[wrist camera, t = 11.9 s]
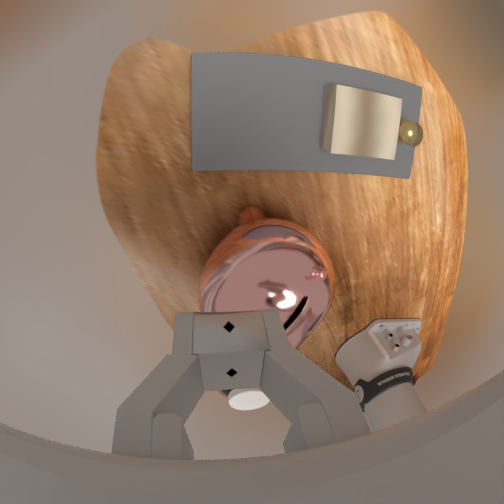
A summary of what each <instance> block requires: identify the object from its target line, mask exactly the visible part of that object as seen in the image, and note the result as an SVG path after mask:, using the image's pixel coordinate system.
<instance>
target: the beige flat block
mask: <svg viewBox="0 0 504 504" xmlns="http://www.w3.org/2000/svg"><path fill="white" fill-rule="evenodd" d="M401 107H402V99H400V98H396V97H392V96H389V95H385V94H381V93H376V92H372V91H368V90H363V89H358V88H353V87H348V86H342V85H326V96H325V110H324V123H323V134H322V145H321V148H322V149H324V150H326V151H328V152H329V153H333V154H345V155H356V156H365V157H374V158H382V159H390V160H394V159H395V153H396V147H397V140H398V133H399V125H400V117H401Z"/></svg>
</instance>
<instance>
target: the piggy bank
mask: <svg viewBox="0 0 504 504" xmlns="http://www.w3.org/2000/svg"><path fill="white" fill-rule="evenodd" d="M334 292H335V273H334V268H333V264H332V261H331V259H330V256H329V254H328V252H327V251H326V249H325V247H324V246H323V244H322V243H321V242H320V240H319V239H318V238H317V237H316V236H315V235H314V234H313V233H311V232H310V231H309V230H307V229H306V228H304V227H302V226H300V225H298V224H296V223H294V222H291V221H287V220H283V219H276V218H266V217H265V216H264V214H263V213H262V212H261V210H260V209H258V208H257V207H254V206H248V207H246V208H245V209H243V210H242V212H241V213H240V216H239V226H237V227H236V228H235V229H233V230H232V231H231V232H230V233H229V234H227V235H226V236H225V237H224V238H223V239H222V241H221V242H220V243H219V244H218V245H217V247H216V248H215V249H214V251H213V252H212V253H211V255H210V257H209V258H208V260H207V262H206V264H205V266H204V268H203V271H202V273H201V277H200V280H199V286H198V303H199V308H200V311H201V312H232V311H250V310H263V309H278V310H279V313H280V316H281V320H282V323H283V326H284V329H285V333H286V336H287V339H288V343H289V346H290V349H297V348H298V347H299V346H300V345H301V344H302V343H303V342H304V340H305V339H306V338H307V337H308V336H309V335H310V334H311V333H312V332H313V331H314V330H315V328H316V327H317V326H318V325H319V324H320V322H321V321H322V320H323V318H324V317H325V315H326V314H327V312H328V310H329V308H330V306H331V303H332V300H333V297H334Z"/></svg>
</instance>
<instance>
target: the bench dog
mask: <svg viewBox="0 0 504 504" xmlns="http://www.w3.org/2000/svg"><path fill="white" fill-rule="evenodd" d="M422 138H423V130H422V128H421V126H420V125H419V124H418V123H416V122H413V121H409V120H406V119H402V118H400V125H399V133H398V140H397V141H399V142H401V143H404V144H407V145H409V146H412V147H415V146H417V145H419V144H420V142H421V141H422Z"/></svg>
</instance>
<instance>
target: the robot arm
mask: <svg viewBox="0 0 504 504" xmlns="http://www.w3.org/2000/svg"><path fill="white" fill-rule="evenodd" d="M420 329H421V321H420V319H378V320H375V321H373V322H372V323H371V324H370V325H369V326H368V327H367V328H366V329H364V330H363V331H361V332H360V333H358V334H356V335H355V336H353V337H352V338H350V339H349V340H348V341H347V342H346V343H345V344H344V345H343V346H342V347H341V348H340V349H339V351H338V352H337V354H336V357H335V362H336V364H337V366H338V367H339V368H340V369H341V370H342V371H343V372H344V374H345V375H346V377H347V378H348V380H349V381H350V383H351V385H352V386H353V388H354V392H352V391H351V390H349V389H348V388H347V387H345V386H344V385H343V384H341V383H340V382H339V381H337V380H336V379H335V378H333V377H332V376H331V375H329V374H328V373H327V372H325V371H324V370H323V369H321V368H320V367H319V366H317V365H316V364H315V363H313V362H312V361H311V360H310V359H308V358H307V357H306V356H304V355H303V354H302V353H301V352H299V351H298V350H297V349H290V346H289V343H288V339H287V336H286V333H285V329H284V326H283V323H282V320H281V316H280V313H279V310H278V309H263V310H250V311H232V312H194V313H193V312H177V314H176V318H175V328H174V340H173V350H172V355H166V357H165V358H164V359H163V360H162V361H161V362H160V363H159V364H158V365H157V366H156V368H155V369H154V370H153V371H152V372H151V373H150V374H149V375H148V376H147V377H146V379H144V381H143V382H142V383H141V384H140V385H139V386H138V387H137V388H136V389H135V390H134V391H133V393H132V394H131V395H130V396H129V397H128V398H127V399H126V400H125V401H124V402H123V404H121V406H120V407H119V408H118V409H117V415H116V422H115V429H114V437H113V445H112V454H111V453H105V452H99V451H93V450H89V449H83V448H79V447H74V446H70V445H66V444H62V443H59V442H55V441H51V440H48V439H44V438H41V437H38V436H35V435H32V434H29V433H26V432H23V431H20V430H18V429H15V428H12V427H10V426H7V425H5V424H2V423H0V504H504V370H503V371H502V372H500V373H499V374H497V375H496V376H494V377H492V378H491V379H489V380H487V381H486V382H484V383H482V384H481V385H479V386H477V387H476V388H474V389H472V390H470V391H468V392H467V393H465V394H463V395H461V396H459V397H457V398H455V399H453V400H451V401H449V402H447V403H445V404H443V405H441V406H439V407H437V408H435V409H432V410H430V411H428V409H427V408H426V407H425V405H424V404H423V402H422V400H421V399H420V397H419V396H418V394H417V392H416V390H415V389H414V387H413V386H414V385H415V382H416V381H417V379H418V378H419V377H420V376H418V377H417V375H418V373H416V375H415V376H414V377H413V373H412V369H413V366H414V364H415V362H416V360H417V358H418V356H419V353H420V351H421V341H420V338H419V336H418V334H419V332H420ZM416 377H417V378H416ZM250 388H260V390H261V391H262V392H263V393H264V394H265V395H266V396H267V397H268V399H269V400H270V401H271V402H272V403H273V404H274V405H275V406H276V407H277V408H278V409H279V410H280V411H281V413H282V414H283V415H284V416H285V417H286V418H287V419H288V420H289V421H290V422H291V423H292V425H291V427H290V429H289V431H288V434H287V436H286V438H285V440H284V442H283V445H284V450H285V453H283V454H276V455H268V456H260V457H250V458H239V459H223V460H194V452H193V448H192V446H191V443H190V440H189V438H188V435H187V433H186V430H185V427H184V424H185V422H186V420H187V419H188V417H189V415H190V414H191V413H192V411H193V409H194V408H195V406H196V405H197V403H198V401H199V400H200V398H201V397H202V395H203V393H204V391H214V390H229V389H250ZM363 412H364V413H365V414H366V416H367V419H368V421H369V424H370V426H371V429H372V431H373V433H371V432H370V429H369V426H368V424H367V421H366V419H365V417H364V414H363Z"/></svg>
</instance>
